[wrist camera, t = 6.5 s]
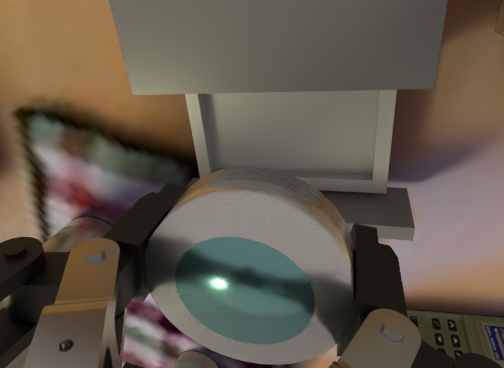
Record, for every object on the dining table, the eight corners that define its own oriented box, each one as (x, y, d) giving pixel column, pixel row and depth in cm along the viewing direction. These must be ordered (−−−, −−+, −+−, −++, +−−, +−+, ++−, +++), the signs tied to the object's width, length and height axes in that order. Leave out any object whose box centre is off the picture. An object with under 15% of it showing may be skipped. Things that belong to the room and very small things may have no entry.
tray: (404, 205, 28) (411, 246, 24) (195, 192, 33) (170, 225, 29) (442, -79, 19) (464, -93, 15) (151, -40, 24) (105, -43, 20)
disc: (378, 191, 10) (383, 237, 8) (330, 332, 13) (326, 387, 11) (171, 148, 11) (136, 181, 9) (173, 289, 14) (147, 334, 12)
